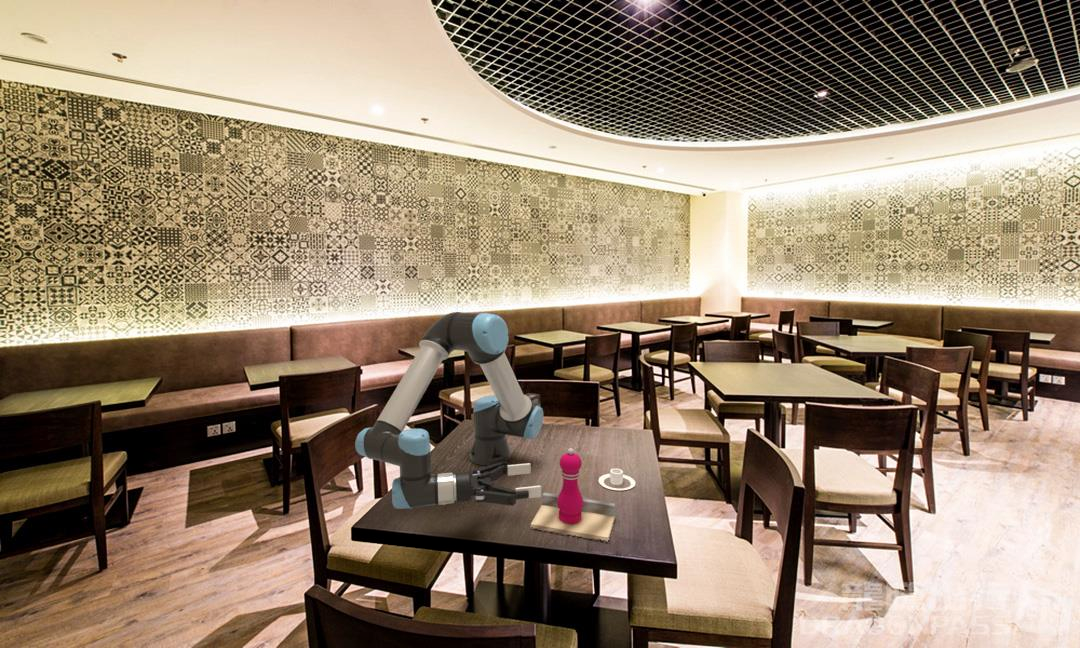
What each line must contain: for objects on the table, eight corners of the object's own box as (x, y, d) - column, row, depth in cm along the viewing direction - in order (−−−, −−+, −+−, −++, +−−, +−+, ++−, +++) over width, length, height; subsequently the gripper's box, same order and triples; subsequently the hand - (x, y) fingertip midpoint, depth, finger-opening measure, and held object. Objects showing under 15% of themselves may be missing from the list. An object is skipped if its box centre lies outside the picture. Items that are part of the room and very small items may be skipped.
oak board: (530, 529, 121) (530, 513, 121) (543, 507, 132) (543, 492, 132) (608, 543, 115) (608, 526, 114) (614, 518, 126) (615, 503, 126)
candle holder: (643, 486, 146) (643, 473, 145) (615, 496, 140) (615, 482, 139) (618, 472, 156) (618, 460, 155) (591, 481, 150) (591, 468, 149)
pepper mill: (585, 513, 126) (586, 445, 124) (579, 527, 119) (580, 455, 117) (561, 508, 128) (561, 441, 126) (553, 522, 122) (554, 451, 119)
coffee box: (529, 436, 189) (529, 399, 187) (516, 433, 193) (516, 397, 191) (540, 430, 197) (540, 394, 195) (528, 427, 200) (528, 392, 198)
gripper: (454, 479, 128) (526, 472, 133) (457, 527, 104) (546, 516, 109) (453, 454, 128) (526, 447, 132) (456, 497, 103) (545, 487, 108)
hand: (535, 479), depth 120 cm, fingers open, 13 cm apart
